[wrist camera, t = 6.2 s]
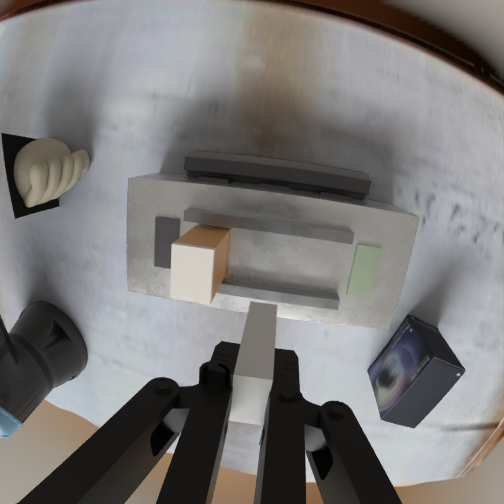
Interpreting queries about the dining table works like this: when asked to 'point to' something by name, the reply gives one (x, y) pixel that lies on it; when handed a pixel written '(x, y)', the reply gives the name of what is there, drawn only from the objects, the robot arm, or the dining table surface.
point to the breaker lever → (199, 264)
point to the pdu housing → (276, 246)
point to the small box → (413, 373)
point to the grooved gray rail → (277, 172)
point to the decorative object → (40, 171)
